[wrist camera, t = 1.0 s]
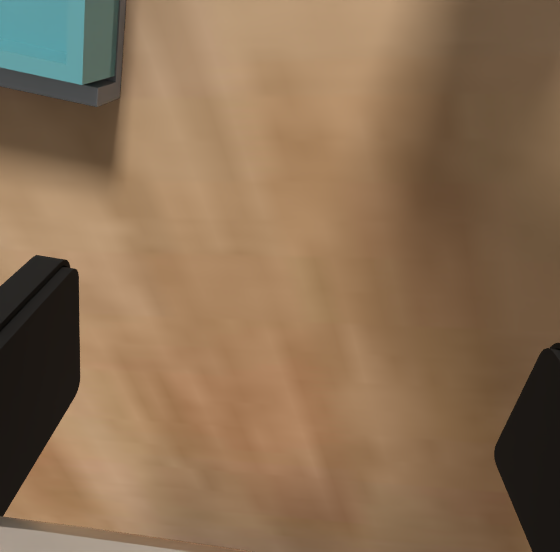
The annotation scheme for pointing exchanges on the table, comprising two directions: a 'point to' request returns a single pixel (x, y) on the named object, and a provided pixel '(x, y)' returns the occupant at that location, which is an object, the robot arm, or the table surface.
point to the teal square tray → (60, 38)
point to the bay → (82, 94)
